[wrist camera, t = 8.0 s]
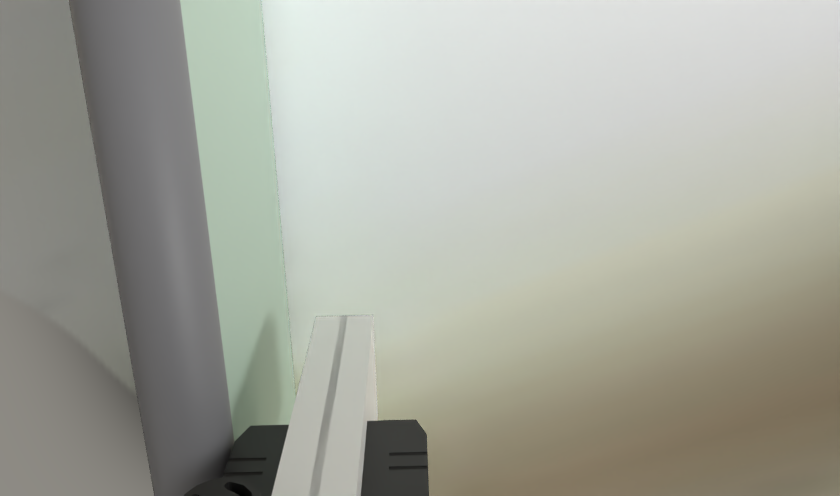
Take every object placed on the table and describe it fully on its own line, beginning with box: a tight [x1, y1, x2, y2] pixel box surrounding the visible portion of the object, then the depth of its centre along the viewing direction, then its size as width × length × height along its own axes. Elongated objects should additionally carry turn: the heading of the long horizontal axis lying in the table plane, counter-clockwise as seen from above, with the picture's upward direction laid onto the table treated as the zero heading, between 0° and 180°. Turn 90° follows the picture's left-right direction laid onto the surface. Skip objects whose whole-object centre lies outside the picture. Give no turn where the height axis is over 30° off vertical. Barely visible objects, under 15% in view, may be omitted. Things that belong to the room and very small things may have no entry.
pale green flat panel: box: [69, 0, 296, 496], centre depth 18 cm, size 21×2×9 cm, turn 1°
